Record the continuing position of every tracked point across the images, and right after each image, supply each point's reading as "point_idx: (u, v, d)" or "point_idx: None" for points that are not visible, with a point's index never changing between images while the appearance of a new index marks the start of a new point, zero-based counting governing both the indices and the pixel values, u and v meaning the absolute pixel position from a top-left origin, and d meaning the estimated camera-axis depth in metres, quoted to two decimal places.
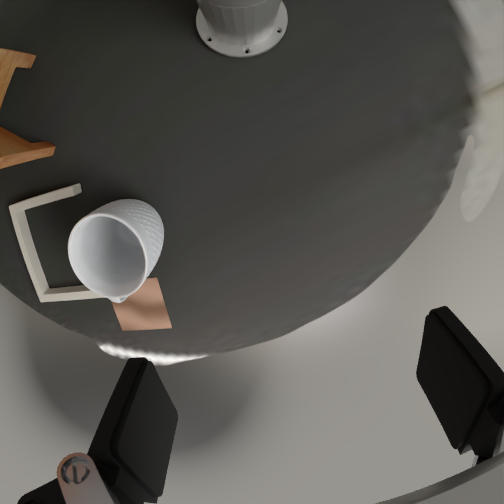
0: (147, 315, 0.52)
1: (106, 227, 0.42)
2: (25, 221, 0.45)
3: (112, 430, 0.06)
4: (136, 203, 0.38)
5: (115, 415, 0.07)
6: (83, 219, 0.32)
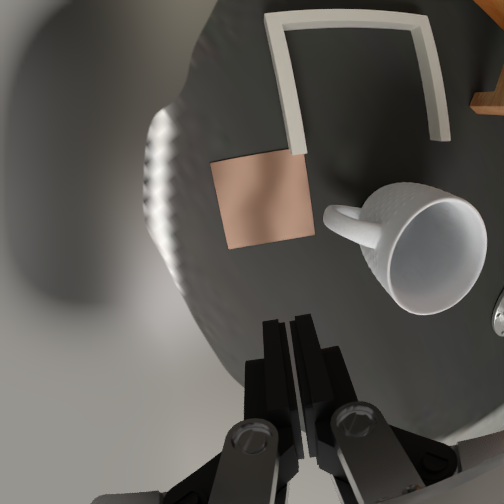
0: (247, 212, 0.34)
1: None
2: (395, 28, 0.26)
3: (286, 385, 0.07)
4: None
5: (279, 372, 0.08)
6: (485, 235, 0.22)
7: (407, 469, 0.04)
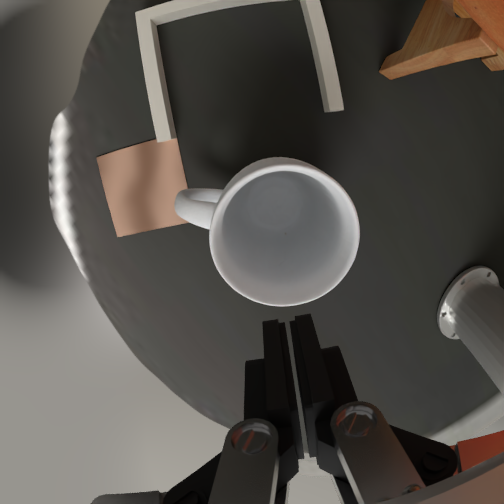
0: (130, 201, 0.34)
1: None
2: None
3: (286, 385, 0.07)
4: None
5: (279, 372, 0.08)
6: (353, 209, 0.21)
7: (407, 469, 0.04)
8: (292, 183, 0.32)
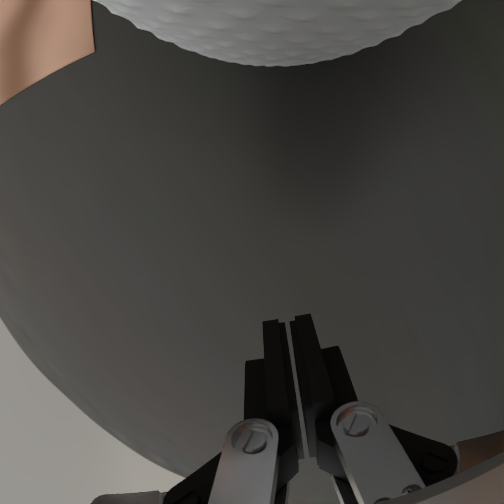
0: (2, 50, 0.11)
1: None
2: None
3: (286, 385, 0.07)
4: None
5: (279, 372, 0.08)
6: None
7: (407, 469, 0.04)
8: None
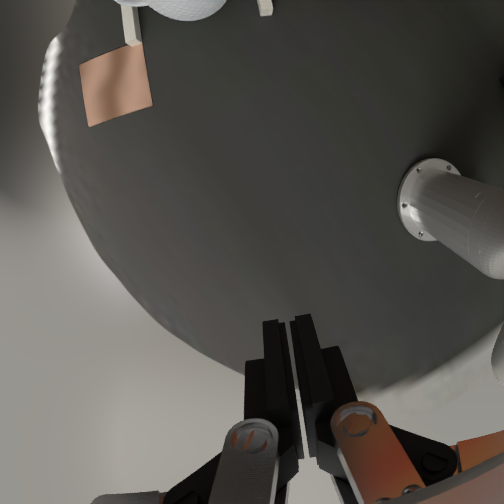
0: (101, 95, 0.35)
1: None
2: None
3: (286, 386, 0.07)
4: None
5: (279, 372, 0.08)
6: None
7: (407, 469, 0.04)
8: None
